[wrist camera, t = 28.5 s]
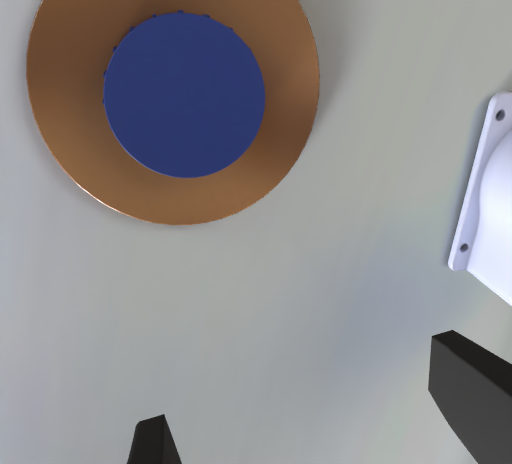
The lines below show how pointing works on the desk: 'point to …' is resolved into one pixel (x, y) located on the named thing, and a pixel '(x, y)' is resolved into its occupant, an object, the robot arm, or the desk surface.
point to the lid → (184, 94)
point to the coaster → (102, 137)
